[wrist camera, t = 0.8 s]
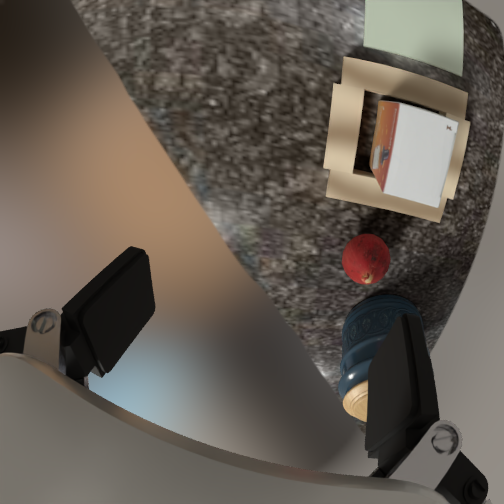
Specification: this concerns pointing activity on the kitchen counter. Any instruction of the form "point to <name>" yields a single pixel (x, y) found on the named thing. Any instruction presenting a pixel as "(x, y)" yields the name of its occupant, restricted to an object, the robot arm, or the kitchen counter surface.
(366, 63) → the wooden square frame
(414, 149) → the small box
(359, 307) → the canister
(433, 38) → the pad
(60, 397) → the robot arm
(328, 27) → the kitchen counter surface
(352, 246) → the red round piece
